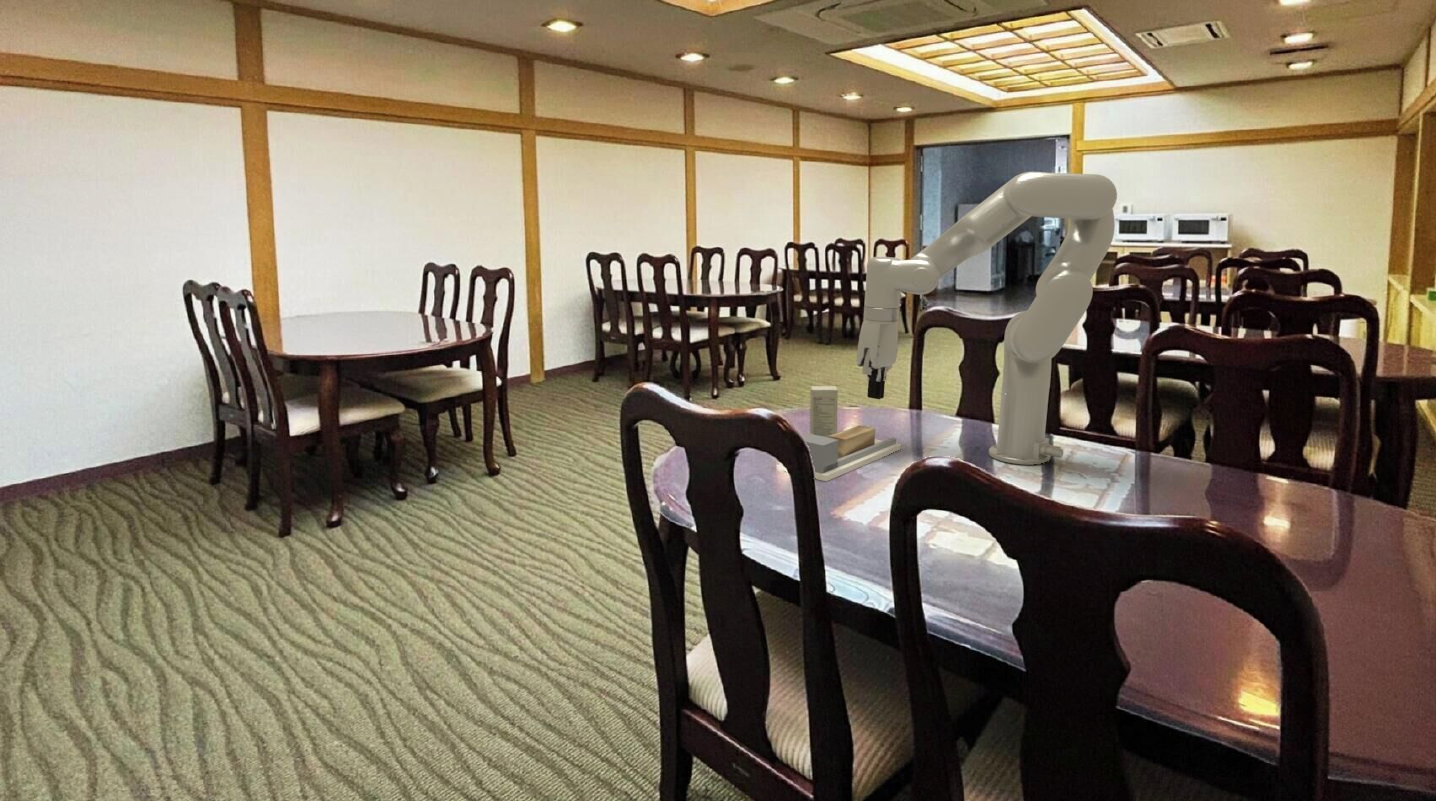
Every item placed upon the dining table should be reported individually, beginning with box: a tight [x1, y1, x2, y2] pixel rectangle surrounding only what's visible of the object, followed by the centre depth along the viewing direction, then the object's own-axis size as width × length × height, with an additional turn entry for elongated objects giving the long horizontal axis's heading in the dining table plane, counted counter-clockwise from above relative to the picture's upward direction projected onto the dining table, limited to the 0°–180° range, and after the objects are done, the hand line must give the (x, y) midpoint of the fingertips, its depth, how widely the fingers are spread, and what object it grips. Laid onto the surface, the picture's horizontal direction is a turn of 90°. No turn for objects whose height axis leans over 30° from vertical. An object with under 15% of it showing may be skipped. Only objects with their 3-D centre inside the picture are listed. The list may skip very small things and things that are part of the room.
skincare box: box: [809, 385, 839, 438], centre depth 197 cm, size 6×4×12 cm
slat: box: [829, 425, 876, 459], centre depth 183 cm, size 4×12×4 cm, turn 140°
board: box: [802, 432, 902, 482], centre depth 181 cm, size 10×30×7 cm, turn 140°
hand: (875, 397), depth 189 cm, fingers closed
